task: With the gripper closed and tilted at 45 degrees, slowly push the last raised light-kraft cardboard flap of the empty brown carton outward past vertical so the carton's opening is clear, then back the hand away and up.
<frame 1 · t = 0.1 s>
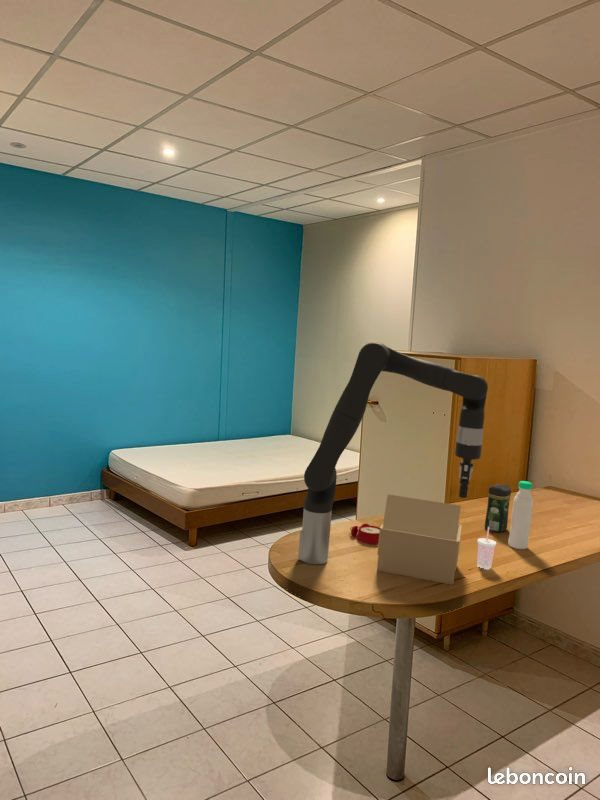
hand: (463, 494, 186), 29 cm above the table, tool pointing down, fingers open, 8 cm apart
carton flap: (421, 517, 193), point 19 cm above the table, hinge at 65.0°
beverage cup: (483, 567, 207), on the table
carton: (417, 567, 202), on the table
alarm clock: (366, 539, 227), on the table
coffee jar: (495, 529, 250), on the table
water bottle: (517, 547, 231), on the table
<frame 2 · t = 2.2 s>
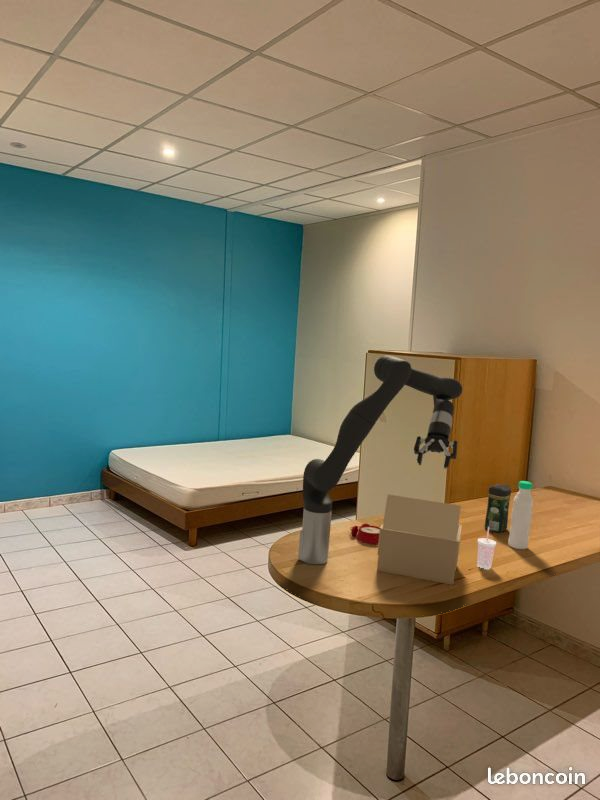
hand: (432, 465, 206), 33 cm above the table, tool tilted 45°, fingers open, 8 cm apart
nothing on the table moved.
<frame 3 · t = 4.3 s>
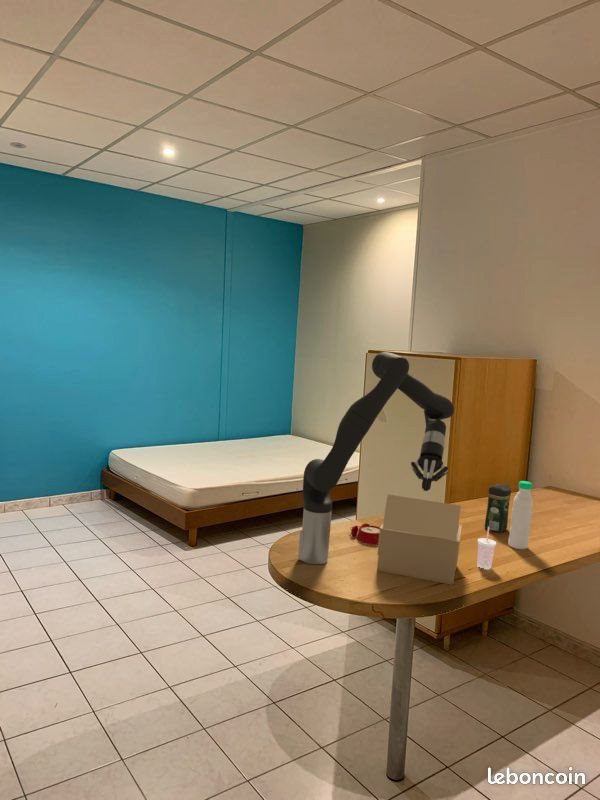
hand: (425, 489, 201), 26 cm above the table, tool tilted 45°, fingers closed
nothing on the table moved.
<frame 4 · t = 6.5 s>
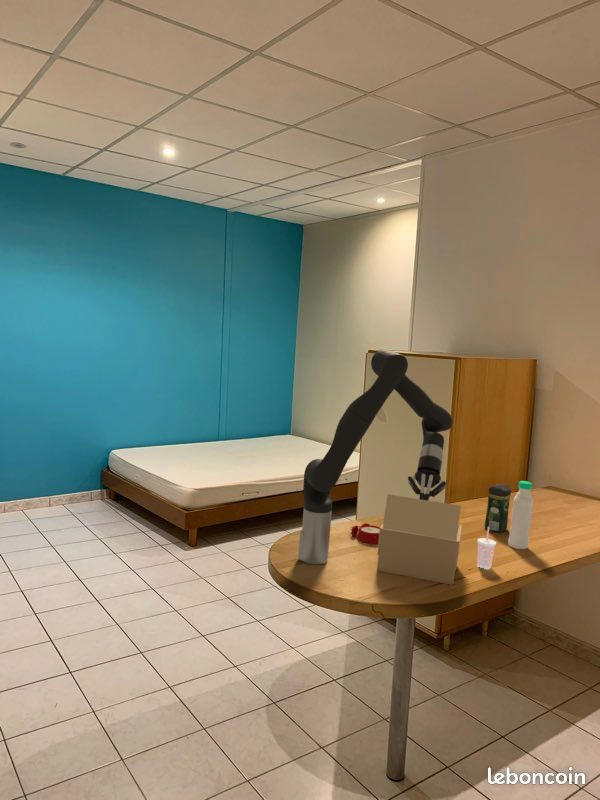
hand: (423, 505, 195), 22 cm above the table, tool tilted 45°, fingers closed
carton flap: (421, 517, 193), point 19 cm above the table, hinge at 65.0°, touching gripper
everything else where it was.
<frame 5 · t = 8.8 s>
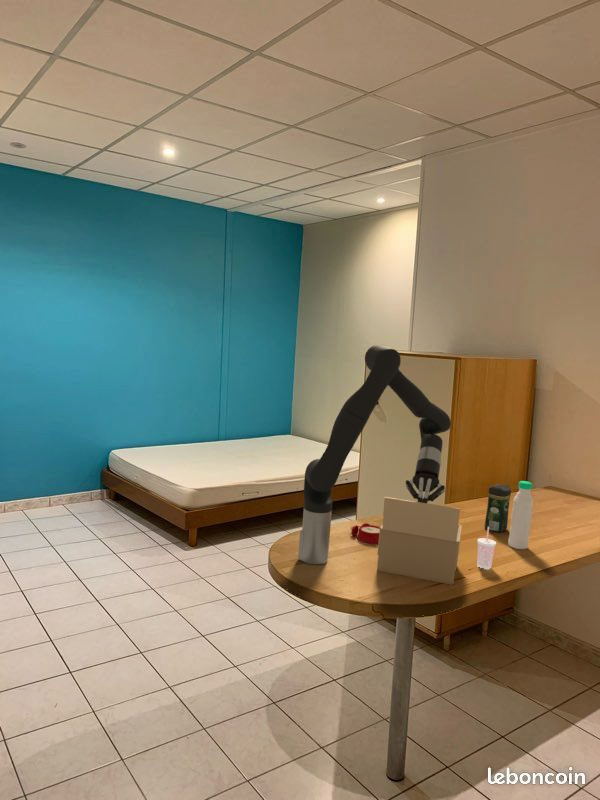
hand: (421, 510, 190), 22 cm above the table, tool tilted 45°, fingers closed
carton flap: (420, 519, 190), point 19 cm above the table, hinge at 99.4°, touching gripper
everything else where it was.
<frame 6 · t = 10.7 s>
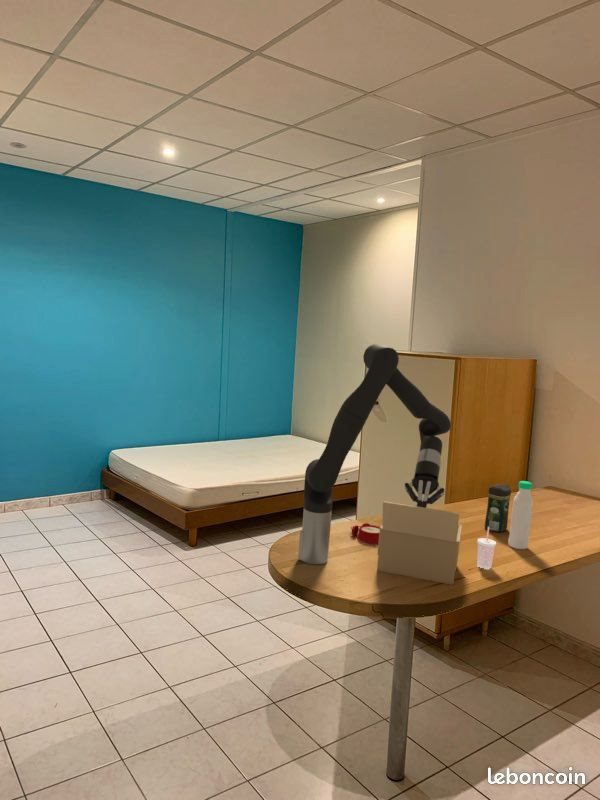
hand: (420, 513, 188), 22 cm above the table, tool tilted 45°, fingers closed
carton flap: (419, 521, 189), point 19 cm above the table, hinge at 113.1°, touching gripper
everything else where it was.
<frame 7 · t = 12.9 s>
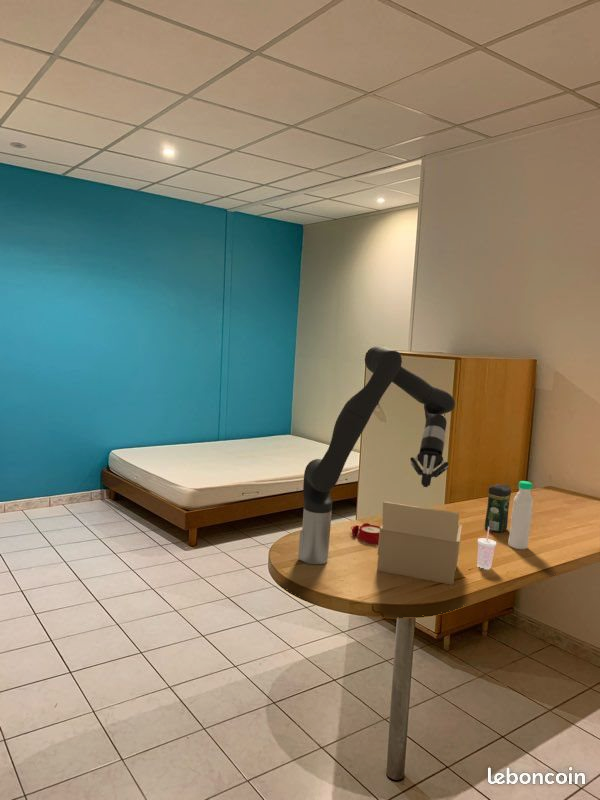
hand: (425, 485, 196), 28 cm above the table, tool tilted 45°, fingers closed
carton flap: (419, 521, 189), point 19 cm above the table, hinge at 113.2°
everything else where it was.
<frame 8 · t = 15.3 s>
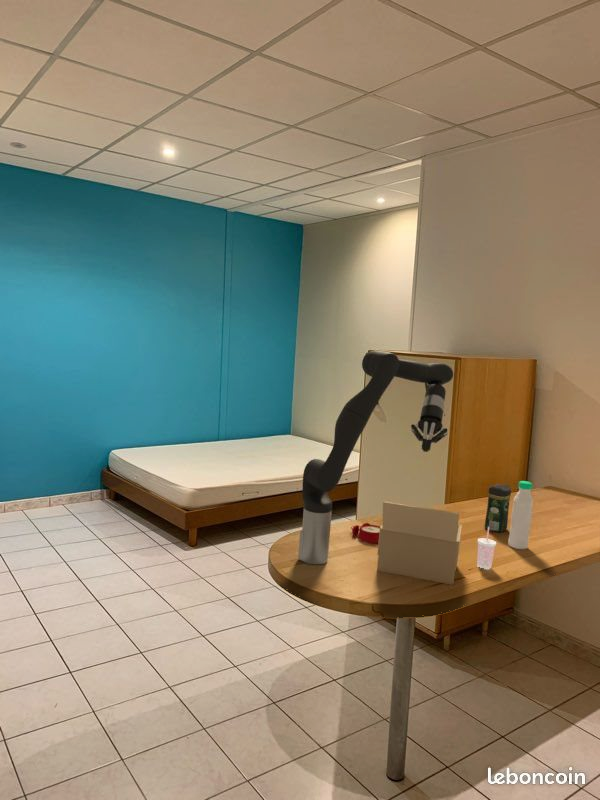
hand: (425, 450, 206), 38 cm above the table, tool tilted 45°, fingers closed
at the end: carton flap at +113° (first picture: +65°) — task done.
